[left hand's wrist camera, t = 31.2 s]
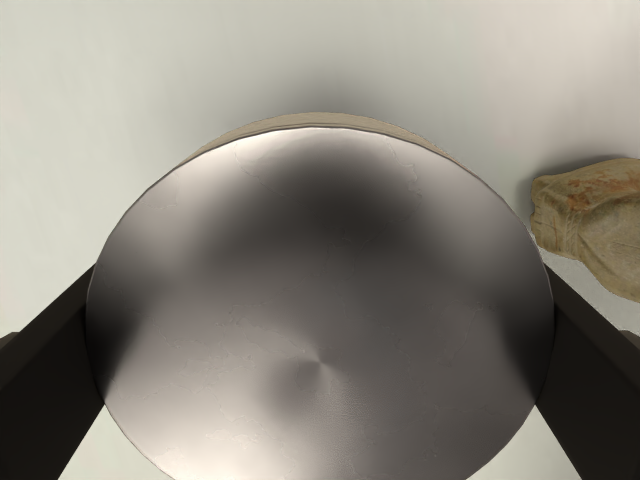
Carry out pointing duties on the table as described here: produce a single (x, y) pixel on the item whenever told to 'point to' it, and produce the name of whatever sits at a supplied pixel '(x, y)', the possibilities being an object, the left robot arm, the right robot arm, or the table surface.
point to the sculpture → (594, 221)
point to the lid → (319, 309)
